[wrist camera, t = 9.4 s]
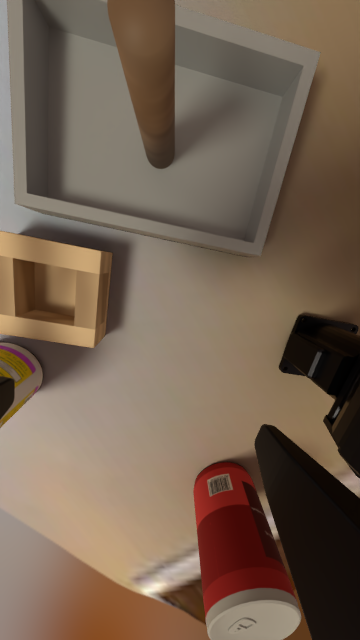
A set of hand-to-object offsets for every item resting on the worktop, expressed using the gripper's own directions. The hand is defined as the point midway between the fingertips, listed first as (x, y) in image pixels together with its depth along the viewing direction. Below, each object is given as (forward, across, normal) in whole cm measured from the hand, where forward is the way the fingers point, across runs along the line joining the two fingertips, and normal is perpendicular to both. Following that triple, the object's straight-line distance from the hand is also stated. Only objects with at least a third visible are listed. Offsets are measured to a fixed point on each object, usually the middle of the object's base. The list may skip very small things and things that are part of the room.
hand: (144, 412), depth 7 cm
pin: (+12, +3, -13) cm, 18 cm away
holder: (+13, +9, 0) cm, 16 cm away
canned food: (+13, -13, +21) cm, 28 cm away
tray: (+13, +3, -13) cm, 18 cm away
